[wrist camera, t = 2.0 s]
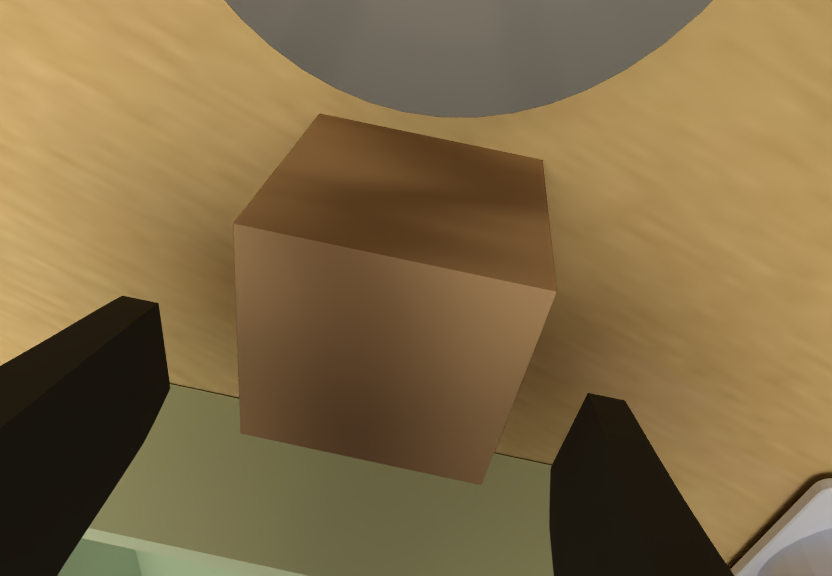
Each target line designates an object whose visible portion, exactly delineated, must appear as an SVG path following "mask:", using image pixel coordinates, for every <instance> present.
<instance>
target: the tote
mask: <svg viewBox="0 0 832 576" xmlns="http://www.w3.org/2000/svg"><path fill="white" fill-rule="evenodd" d="M551 466H552V465H547V464H542V463H538V462H533V461H528V460H524V459H519V458H514V457H510V456H505V455H500V454H495V453H494V454H493V457H492V459H491V462H490V465H489V467H488V470H487V472H486V475H485V477H484V480H483V483H482V485H477V484H473V483H468V482H464V481H459V480H454V479H450V478H445V477H440V476H436V475H431V474H426V473H422V472H417V471H412V470H408V469H403V468H398V467H394V466H389V465H385V464H380V463H375V462H371V461H366V460H361V459H357V458H352V457H347V456H343V455H338V454H333V453H329V452H324V451H319V450H315V449H310V448H306V447H301V446H296V445H292V444H287V443H282V442H278V441H273V440H268V439H264V438H259V437H254V436H250V435H245V434H241V433H240V406H239V399H238V398H234V397H229V396H224V395H220V394H215V393H210V392H206V391H201V390H196V389H192V388H187V387H182V386H178V385H173V384H170V390H169V392H168V395H167V397H166V399H165V401H164V403H163V405H162V407H161V409H160V412H159V414H158V416H157V418H156V420H155V422H154V424H153V426H152V428H151V430H150V432H149V434H148V436H147V438H146V440H145V442H144V443H143V445H142V447H141V448H140V450H139V451H138V453H137V454H136V456H135V458H134V459H133V461H132V462H131V464H130V465H129V467H128V468H127V470H126V471H125V473H124V475H123V476H122V478H121V479H120V481H119V482H118V484H117V485H116V487H115V488H114V490H113V491H112V493H111V494H110V496H109V497H108V499H107V501H106V502H105V504H104V505H103V507H102V508H101V510H100V511H99V513H98V514H97V516H96V517H95V519H94V520H93V522H92V523H91V525H90V526H89V528H88V529H87V531H86V532H85V534H84V535H83V537H82V538H81V540H80V541H79V543H78V545H77V546H76V548H75V549H74V551H73V552H72V554H71V555H70V557H69V558H68V560H67V561H66V563H65V564H64V566H63V567H62V569H61V571H60V572H59V574H58V576H554V573H553V563H552V552H551V541H550V530H549V505H550V470H551Z"/></svg>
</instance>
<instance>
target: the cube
mask: <svg viewBox="0 0 832 576" xmlns="http://www.w3.org/2000/svg"><path fill="white" fill-rule="evenodd" d="M233 232H234V261H235V290H236V319H237V348H238V377H239V406H240V433H241V434H245V435H250V436H254V437H259V438H264V439H268V440H273V441H278V442H282V443H287V444H292V445H296V446H301V447H306V448H310V449H315V450H319V451H324V452H329V453H333V454H338V455H343V456H347V457H352V458H357V459H361V460H366V461H371V462H375V463H380V464H385V465H389V466H394V467H398V468H403V469H408V470H412V471H417V472H422V473H426V474H431V475H436V476H440V477H445V478H450V479H454V480H459V481H464V482H468V483H473V484H477V485H482V483H483V480H484V477H485V475H486V472H487V470H488V467H489V465H490V462H491V459H492V457H493V454H494V452H495V449H496V447H497V444H498V442H499V439H500V436H501V434H502V431H503V429H504V426H505V424H506V421H507V418H508V416H509V413H510V411H511V408H512V406H513V403H514V401H515V398H516V395H517V393H518V390H519V388H520V385H521V383H522V380H523V377H524V375H525V372H526V370H527V367H528V365H529V362H530V359H531V357H532V354H533V352H534V349H535V347H536V344H537V342H538V339H539V336H540V334H541V331H542V329H543V326H544V324H545V321H546V318H547V316H548V313H549V311H550V308H551V306H552V303H553V301H554V298H555V295H556V293H557V288H556V279H555V270H554V261H553V252H552V242H551V233H550V224H549V215H548V206H547V196H546V187H545V178H544V169H543V160H540V159H535V158H530V157H526V156H521V155H516V154H511V153H506V152H502V151H497V150H492V149H487V148H482V147H478V146H473V145H468V144H463V143H458V142H454V141H449V140H444V139H439V138H434V137H430V136H425V135H420V134H415V133H410V132H406V131H401V130H396V129H391V128H386V127H382V126H377V125H372V124H367V123H362V122H358V121H353V120H348V119H343V118H338V117H333V116H329V115H324V114H319V115H318V116H317V118H316V119H315V120H314V121H313V123H312V124H311V125H310V127H309V128H308V129H307V130H306V132H305V133H304V134H303V135H302V137H301V138H300V139H299V141H298V142H297V143H296V144H295V146H294V147H293V148H292V149H291V151H290V152H289V153H288V155H287V156H286V157H285V158H284V160H283V161H282V162H281V163H280V165H279V166H278V167H277V168H276V170H275V171H274V172H273V174H272V175H271V176H270V177H269V179H268V180H267V181H266V182H265V184H264V185H263V186H262V188H261V189H260V190H259V191H258V193H257V194H256V195H255V196H254V198H253V199H252V200H251V202H250V203H249V204H248V205H247V207H246V208H245V209H244V210H243V212H242V213H241V214H240V216H239V217H238V218H237V219H236V221H235V222H234V223H233Z"/></svg>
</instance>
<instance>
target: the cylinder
mask: <svg viewBox="0 0 832 576" xmlns="http://www.w3.org/2000/svg"><path fill="white" fill-rule="evenodd" d="M225 1H226V2H227V4H228V5H229V6H230V7H231V8H232V9H233V10H234V12H235V13H236V14H237V15H238V16H239V17H240V18H241V19H242V20H243V21H244V22H245V23H246V24H247V25H248V26H249V27H250V28H252V29H253V30H254V31H255V32H256V33H257V34H258V35H259V36H260V37H261V38H262V39H263V40H265V41H266V42H267V43H268V44H269V45H270V46H271V47H273V48H274V49H275V50H277V51H278V52H279V53H281V54H282V55H283V56H285V57H286V58H288V59H289V60H290V61H292V62H293V63H294V64H296V65H297V66H298V67H300V68H301V69H303V70H304V71H306V72H308V73H309V74H311V75H313V76H315V77H317V78H318V79H320V80H322V81H324V82H325V83H327V84H329V85H331V86H332V87H334V88H336V89H338V90H341V91H343V92H346V93H348V94H350V95H353V96H355V97H358V98H360V99H362V100H365V101H367V102H370V103H373V104H377V105H381V106H384V107H388V108H392V109H395V110H399V111H402V112H408V113H415V114H422V115H429V116H436V117H484V116H493V115H501V114H510V113H515V112H520V111H524V110H528V109H532V108H536V107H540V106H544V105H548V104H551V103H554V102H556V101H559V100H562V99H564V98H567V97H570V96H572V95H575V94H577V93H580V92H583V91H585V90H588V89H590V88H592V87H594V86H595V85H597V84H599V83H601V82H603V81H605V80H607V79H609V78H611V77H613V76H615V75H617V74H618V73H620V72H622V71H624V70H626V69H627V68H629V67H630V66H632V65H633V64H635V63H636V62H638V61H639V60H641V59H642V58H644V57H645V56H647V55H648V54H650V53H651V52H653V51H654V50H656V49H657V48H659V47H660V46H661V45H663V44H664V43H665V42H667V41H668V40H669V39H670V38H671V37H672V36H674V35H675V34H676V33H677V32H678V31H680V30H681V29H682V28H683V27H684V26H686V25H687V24H688V23H689V22H690V21H691V20H693V19H694V18H695V17H696V16H697V15H699V14H700V13H701V12H702V11H703V10H704V9H705V8H706V7H707V6H708V5H709V4H710V3H711V1H712V0H225Z"/></svg>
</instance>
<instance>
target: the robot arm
mask: <svg viewBox="0 0 832 576" xmlns="http://www.w3.org/2000/svg"><path fill="white" fill-rule="evenodd" d="M169 390H170V382H169V375H168V368H167V361H166V354H165V347H164V340H163V332H162V325H161V318H160V311H159V304H158V303H155V302H150V301H145V300H140V299H136V298H131V297H126V296H121V297H119V298H117V299H116V300H114V301H112V302H110V303H108V304H107V305H105V306H103V307H101V308H100V309H98V310H96V311H94V312H93V313H91V314H89V315H88V316H86V317H84V318H82V319H81V320H79V321H77V322H76V323H74V324H72V325H71V326H69V327H67V328H66V329H64V330H62V331H60V332H59V333H57V334H55V335H54V336H52V337H50V338H48V339H47V340H45V341H43V342H42V343H40V344H38V345H36V346H35V347H33V348H31V349H29V350H28V351H26V352H24V353H22V354H21V355H19V356H17V357H15V358H14V359H12V360H10V361H8V362H7V363H5V364H3V365H1V366H0V576H58V574H59V572H60V571H61V569H62V567H63V566H64V564H65V563H66V561H67V560H68V558H69V557H70V555H71V554H72V552H73V551H74V549H75V548H76V546H77V545H78V543H79V541H80V540H81V538H82V537H83V535H84V534H85V532H86V531H87V529H88V528H89V526H90V525H91V523H92V522H93V520H94V519H95V517H96V516H97V514H98V513H99V511H100V510H101V508H102V507H103V505H104V504H105V502H106V501H107V499H108V497H109V496H110V494H111V493H112V491H113V490H114V488H115V487H116V485H117V484H118V482H119V481H120V479H121V478H122V476H123V475H124V473H125V471H126V470H127V468H128V467H129V465H130V464H131V462H132V461H133V459H134V458H135V456H136V454H137V453H138V451H139V450H140V448H141V447H142V445H143V443H144V442H145V440H146V438H147V436H148V434H149V432H150V430H151V428H152V426H153V424H154V422H155V420H156V418H157V416H158V414H159V412H160V409H161V407H162V405H163V403H164V401H165V399H166V397H167V395H168V392H169ZM549 530H550V541H551V552H552V563H553V573H554V576H832V478H827V479H822V480H820V481H818V482H816V483H815V484H813V485H812V486H811V487H810V488H809V489H808V491H807V492H806V493H805V494H804V495H803V496H802V497H801V498H800V499H799V500H798V501H797V502H796V503H795V504H794V505H793V506H792V507H791V508H790V509H789V510H788V511H787V512H786V513H785V514H784V515H783V516H782V517H781V518H780V519H779V520H778V521H777V522H776V523H775V524H774V525H773V526H772V527H771V528H770V529H769V530H768V531H767V532H766V534H765V535H764V536H763V537H762V538H761V539H760V540H759V541H758V542H757V543H756V544H755V545H754V546H753V547H752V548H751V549H750V550H749V551H748V552H747V553H746V554H745V555H744V556H743V557H742V558H741V559H740V560H739V561H738V562H737V563H736V564H735V565H734V566H733V567H732V568H731V569H729V567H728V566H727V564H726V563H725V562H724V560H723V559H722V557H721V556H720V554H719V553H718V551H717V550H716V548H715V547H714V545H713V544H712V542H711V541H710V539H709V538H708V536H707V535H706V533H705V531H704V530H703V528H702V527H701V525H700V524H699V522H698V520H697V519H696V517H695V516H694V514H693V513H692V511H691V509H690V508H689V506H688V505H687V503H686V502H685V500H684V498H683V497H682V495H681V494H680V492H679V490H678V489H677V487H676V485H675V484H674V482H673V481H672V479H671V477H670V476H669V474H668V472H667V471H666V469H665V467H664V466H663V464H662V462H661V461H660V459H659V457H658V456H657V454H656V452H655V451H654V449H653V447H652V445H651V444H650V442H649V440H648V439H647V437H646V435H645V434H644V432H643V430H642V429H641V427H640V425H639V423H638V422H637V420H636V418H635V417H634V415H633V413H632V412H631V410H630V408H629V407H628V405H627V403H626V402H625V401H624V400H619V399H615V398H610V397H605V396H600V395H595V394H591V393H588V394H587V396H586V398H585V400H584V402H583V404H582V406H581V408H580V410H579V412H578V414H577V416H576V418H575V420H574V422H573V424H572V426H571V428H570V430H569V432H568V434H567V436H566V438H565V440H564V442H563V444H562V446H561V448H560V450H559V452H558V454H557V456H556V458H555V460H554V462H553V464H552V466H551V470H550V505H549Z"/></svg>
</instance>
